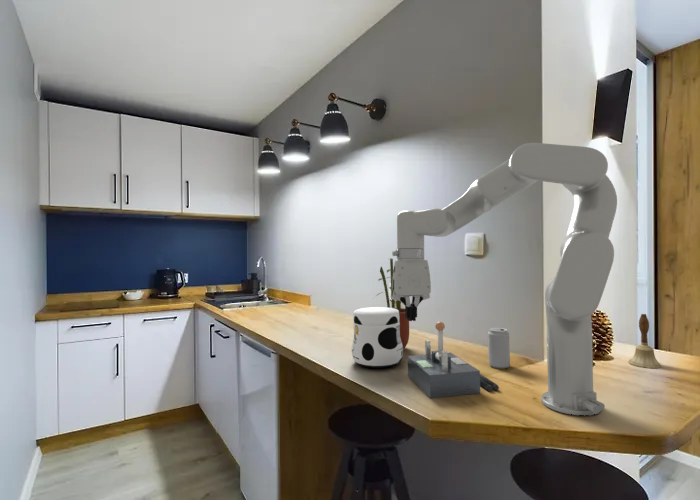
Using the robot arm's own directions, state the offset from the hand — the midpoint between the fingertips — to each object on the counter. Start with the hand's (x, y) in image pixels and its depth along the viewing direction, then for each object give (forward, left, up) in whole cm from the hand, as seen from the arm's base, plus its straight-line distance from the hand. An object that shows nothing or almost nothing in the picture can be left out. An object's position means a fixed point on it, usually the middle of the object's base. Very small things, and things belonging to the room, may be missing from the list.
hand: (411, 320), depth 108 cm
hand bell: (0, -76, -19) cm, 79 cm away
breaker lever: (0, -8, -11) cm, 14 cm away
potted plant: (+41, -5, -19) cm, 45 cm away
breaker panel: (0, -8, -19) cm, 21 cm away
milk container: (+23, +5, -19) cm, 30 cm away
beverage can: (+10, -32, -19) cm, 39 cm away
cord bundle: (0, -20, -19) cm, 28 cm away
